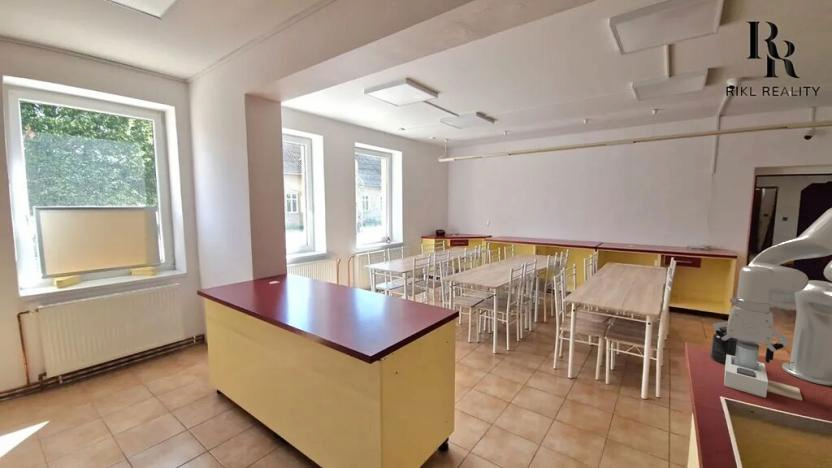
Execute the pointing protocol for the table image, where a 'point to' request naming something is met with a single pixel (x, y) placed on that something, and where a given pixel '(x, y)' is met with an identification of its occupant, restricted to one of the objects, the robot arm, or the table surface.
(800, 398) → the oak pad
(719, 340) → the supplement bottle
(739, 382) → the box
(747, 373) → the plunger
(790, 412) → the table surface
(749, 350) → the cylinder
